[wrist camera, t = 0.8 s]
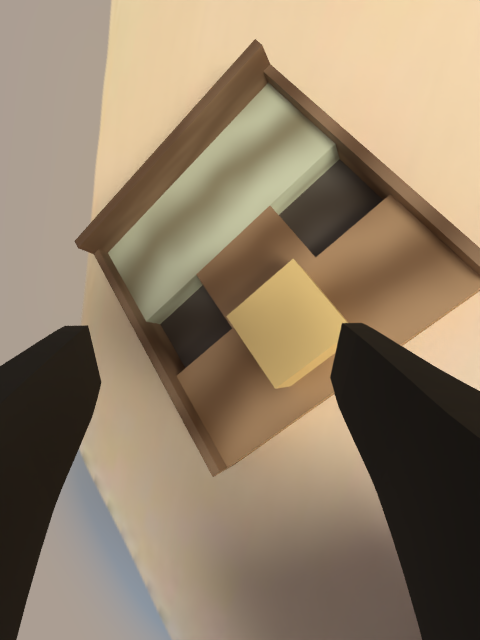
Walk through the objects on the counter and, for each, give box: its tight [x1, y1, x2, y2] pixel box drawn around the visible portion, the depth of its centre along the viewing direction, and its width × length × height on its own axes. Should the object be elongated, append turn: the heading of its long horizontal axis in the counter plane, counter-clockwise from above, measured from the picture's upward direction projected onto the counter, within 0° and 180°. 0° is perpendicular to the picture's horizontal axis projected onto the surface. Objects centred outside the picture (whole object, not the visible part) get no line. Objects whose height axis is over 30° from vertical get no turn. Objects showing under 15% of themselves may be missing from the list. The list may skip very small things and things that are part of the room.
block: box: [226, 259, 348, 389], centre depth 19 cm, size 5×5×3 cm
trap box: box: [75, 39, 480, 477], centre depth 22 cm, size 20×19×4 cm
